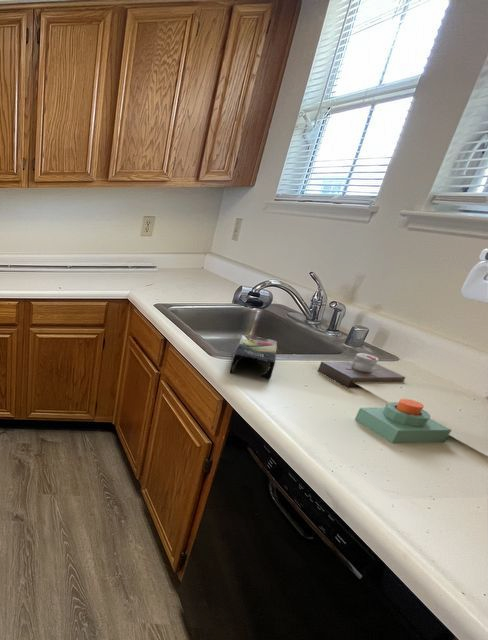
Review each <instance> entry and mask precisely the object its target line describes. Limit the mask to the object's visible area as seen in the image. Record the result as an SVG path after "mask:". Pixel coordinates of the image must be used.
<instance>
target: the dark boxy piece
mask: <svg viewBox="0 0 488 640" xmlns="http://www.w3.org/2000/svg"><path fill="white" fill-rule="evenodd" d="M277 350H278V341H277V340H274V339H269V338H264V337H261V336H260V337H259V336H251V335H250V336H249V335H245V334H244V335H241V336H240V339H239V341H238V343H237V345H236V347H235V349H234V351H233V354H232V358H231V363H230V367H229V373H230V374H233V370H234V367H235V366H236V364H237V362H238V361H240V360H242V359H253V360H255V359H257V361H258V362H266V363H268V367H269V368H268V369H266V372H263V373H262V374H260V376H259V377H260V378H262V379H265V380H268V381H270V380H271V378H272V375H273V371H274V368H275V364H276V358H277Z"/></svg>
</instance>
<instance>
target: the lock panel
mask: <svg viewBox="0 0 488 640" xmlns="http://www.w3.org/2000/svg"><path fill="white" fill-rule="evenodd" d="M353 361H354V360H342V361H341V360H340V361H339V360H333V361H332V360H331V361H330V360H328V361H327V360H326V361H325V360H323V361H322V360H321V362H320V364H319V367H318V369H317V372H318V373H320V374H321V373H322V375H323V374H324V375H323V376H325V375H326V376H325V377H327V376H328V377H329V378H328V377H327V378H328V379H330V378H331V379H330V380H332V379H333V380H332V381H334V380H335V381H336V382H335V381H334V382H335V383H337V382H338V383H337V384H339V383H340V384H339V385H340V386H342V385H343V386H342V387H344V386H345V388H346V387H347V388H346V389H364V387H362V386H361V385H360V384H357V383H393V382H394V383H403V382H405V379H406V376H404V375H403V374H400V373H398V372H395V371H393V370H391V369H389V368H387V367H385V366H383V365H380V364H378V363H377V364H376V366H375V368H374V370H373V372H362V371H358V370H356V369H353V368H352V367H351V366H352V364H353Z"/></svg>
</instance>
